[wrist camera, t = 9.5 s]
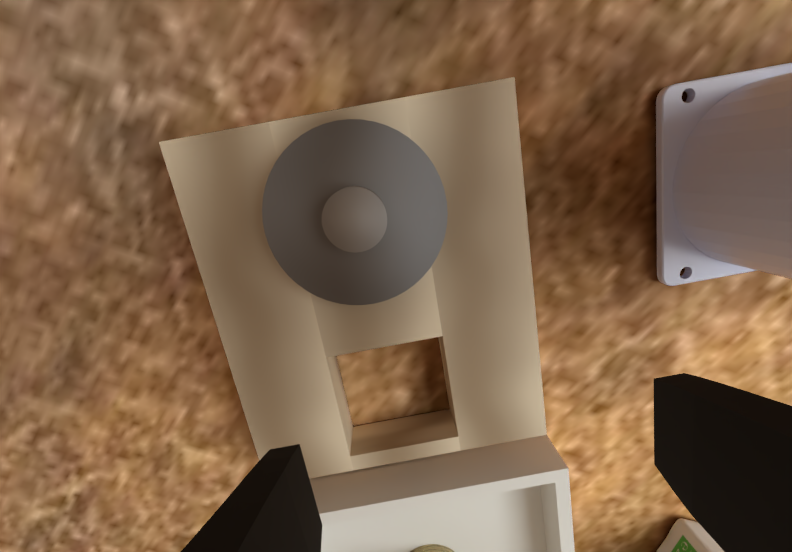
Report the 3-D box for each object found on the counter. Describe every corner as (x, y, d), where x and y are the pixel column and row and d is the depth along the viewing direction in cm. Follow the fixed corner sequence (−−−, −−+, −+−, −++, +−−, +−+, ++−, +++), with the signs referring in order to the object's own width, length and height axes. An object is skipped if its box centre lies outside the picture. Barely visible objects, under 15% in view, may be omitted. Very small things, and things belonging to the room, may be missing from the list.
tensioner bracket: (496, 89, 15) (538, 59, 11) (528, 407, 19) (569, 469, 15) (187, 146, 15) (120, 136, 11) (278, 453, 18) (252, 527, 15)
